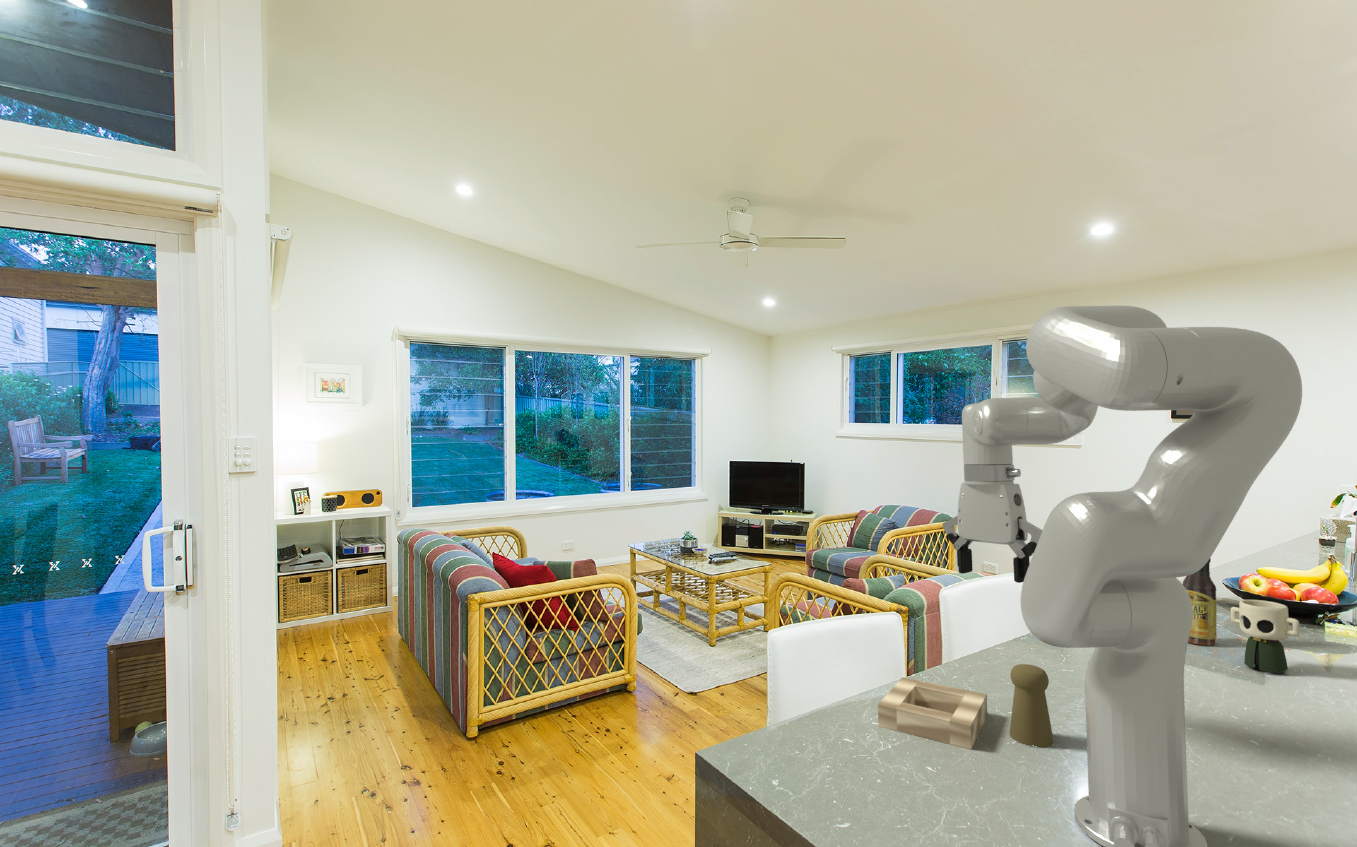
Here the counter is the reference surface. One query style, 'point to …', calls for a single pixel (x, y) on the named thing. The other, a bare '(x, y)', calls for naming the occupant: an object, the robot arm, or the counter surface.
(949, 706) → the socket block
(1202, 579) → the sauce bottle
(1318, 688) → the counter surface
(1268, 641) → the character mug
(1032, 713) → the cork
